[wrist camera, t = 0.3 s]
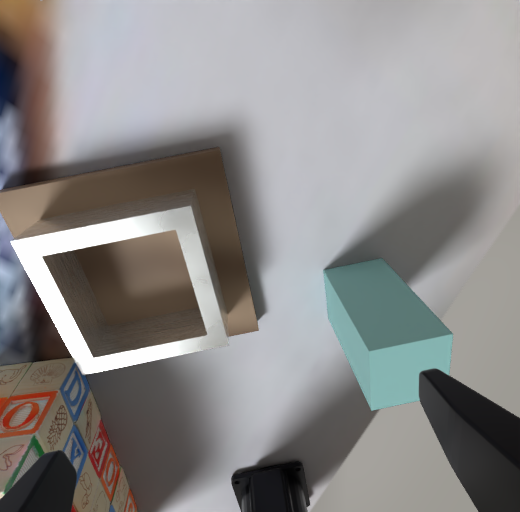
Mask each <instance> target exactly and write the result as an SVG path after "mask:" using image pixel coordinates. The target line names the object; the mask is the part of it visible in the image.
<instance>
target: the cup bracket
mask: <svg viewBox="0 0 520 512" xmlns="http://www.w3.org/2000/svg"><path fill="white" fill-rule="evenodd" d="M171 230H176V232H177V235H178V239H179V242H180V245H181V249H182V252H183V255H184V258H185V262H186V265H187V268H188V272H189V275H190V278H191V282H192V285H193V288H194V292H195V295H196V298H197V301H198V305H199V307H198V308H193V309H188V310H183V311H178V312H173V313H168V314H164V315H159V316H154V317H149V318H144V319H139V320H134V321H129V322H124V323H119V324H114V325H109V326H108V324H107V322H106V320H105V317H104V315H103V313H102V311H101V309H100V306H99V304H98V302H97V300H96V298H95V296H94V293H93V291H92V289H91V287H90V285H89V282H88V280H87V278H86V276H85V274H84V271H83V269H82V267H81V265H80V263H79V260H78V258H77V256H76V254H75V252H74V250H75V249H80V248H85V247H90V246H95V245H100V244H105V243H110V242H115V241H120V240H125V239H130V238H136V237H141V236H146V235H151V234H156V233H161V232H166V231H171ZM10 242H11V244H12V245H13V247H14V249H15V251H16V253H17V255H18V257H19V258H20V260H21V262H22V264H23V266H24V268H25V270H26V271H27V273H28V275H29V277H30V279H31V281H32V283H33V284H34V286H35V288H36V290H37V292H38V294H39V296H40V297H41V299H42V301H43V303H44V305H45V307H46V308H47V310H48V312H49V314H50V316H51V318H52V320H53V321H54V323H55V325H56V327H57V329H58V331H59V333H60V334H61V336H62V338H63V340H64V342H65V344H66V346H67V347H68V349H69V351H70V353H71V355H72V357H73V359H74V360H75V362H76V364H77V366H78V368H79V370H80V372H81V373H82V375H86V374H91V373H96V372H101V371H106V370H111V369H115V368H120V367H125V366H130V365H135V364H140V363H145V362H150V361H154V360H159V359H164V358H169V357H174V356H179V355H184V354H189V353H193V352H198V351H203V350H208V349H213V348H218V347H223V346H228V345H229V335H228V314H227V310H226V306H225V302H224V298H223V295H222V291H221V287H220V283H219V279H218V275H217V272H216V268H215V264H214V260H213V256H212V252H211V249H210V245H209V241H208V237H207V233H206V229H205V226H204V222H203V218H202V214H201V210H200V206H199V203H198V199H197V195H196V191H195V189H191V190H186V191H181V192H176V193H171V194H166V195H161V196H155V197H150V198H145V199H140V200H135V201H130V202H125V203H120V204H115V205H110V206H105V207H100V208H95V209H90V210H85V211H80V212H74V213H69V214H64V215H59V216H54V217H49V218H44V219H40V220H38V221H37V222H36V223H34V224H33V225H32V226H30V227H29V228H28V229H26V230H25V231H24V232H22V233H21V234H20V235H18V236H17V237H16V238H14V239H13V240H12V241H10Z"/></svg>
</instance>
